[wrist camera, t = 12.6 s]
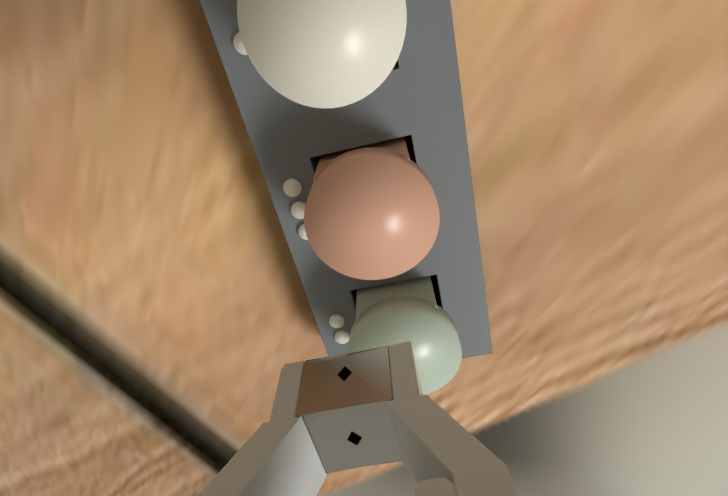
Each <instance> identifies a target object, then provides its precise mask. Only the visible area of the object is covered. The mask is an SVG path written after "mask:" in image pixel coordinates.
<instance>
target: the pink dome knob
mask: <svg viewBox="0 0 728 496" xmlns="http://www.w3.org/2000/svg"><path fill="white" fill-rule="evenodd" d="M439 224H440V213H439V206H438V202H437V199H436V196H435V193H434V191H433V188H432V186H431V183H430V181H429V179H428V178H427V176H426V174H425V173H424V172H423V170H422V169H421V168H420V167H419V166H418V165H417V164H416V163H415V162H413V161H412V160H411V159H410V157H409V153H408V150H407V146H406V142H405V139H404V136H403V137H399V138H394V139H390V140H386V141H381V142H377V143H373V144H368V145H364V146H360V147H355V148H351V149H346V150H342V151H338V152H333V153H329V154H325V155H321V157H320V160H319V163H318V166H317V169H316V171H315V174H314V177H313V184H312V187H311V190H310V193H309V196H308V199H307V202H306V205H305V211H304V227H305V232H306V236H307V238H308V241H309V243H310V245H311V247H312V249H313V250H314V252H315V253H316V254H317V256H318V257H319V258H320V259H321V260H322V261H323V262H324V263H325V264H327V265H328V266H329V267H330V268H332V269H334V270H335V271H337V272H339V273H341V274H344V275H346V276H349V277H352V278H357V279H363V280H380V279H387V278H391V277H394V276H397V275H400V274H402V273H404V272H406V271H408V270H410V269H411V268H413V267H414V266H416V265H417V264H418V263H419V262H420V261H421V260H422V259H423V258H424V257H425V256H426V255H427V254H428V252H429V251H430V249H431V248H432V246H433V244H434V242H435V240H436V237H437V234H438V230H439Z"/></svg>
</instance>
